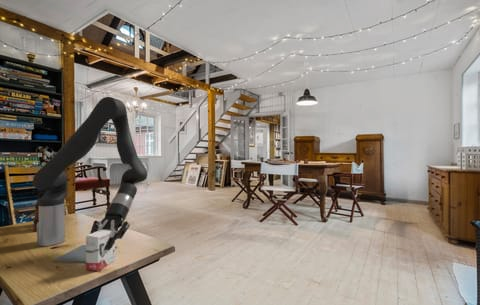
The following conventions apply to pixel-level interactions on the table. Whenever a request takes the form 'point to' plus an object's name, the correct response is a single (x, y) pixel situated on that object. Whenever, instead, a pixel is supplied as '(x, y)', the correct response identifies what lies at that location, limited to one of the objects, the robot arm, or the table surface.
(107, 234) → the ink box
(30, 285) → the table surface
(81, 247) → the charcoal mat
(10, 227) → the table surface
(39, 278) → the table surface
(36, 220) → the binoculars
